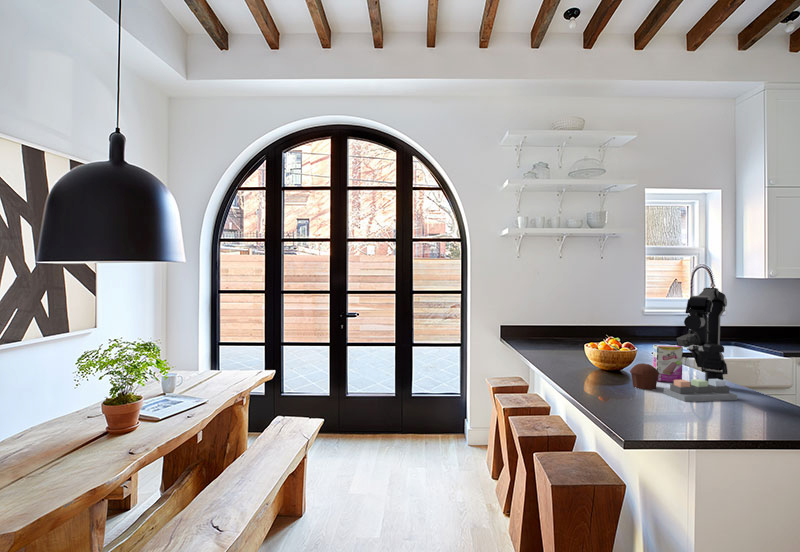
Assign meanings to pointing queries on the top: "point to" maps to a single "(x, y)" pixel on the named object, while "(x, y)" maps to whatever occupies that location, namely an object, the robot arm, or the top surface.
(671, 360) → the candy bar box
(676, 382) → the terracotta button
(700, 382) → the sage button
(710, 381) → the slate button
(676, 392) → the button panel
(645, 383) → the muffin
